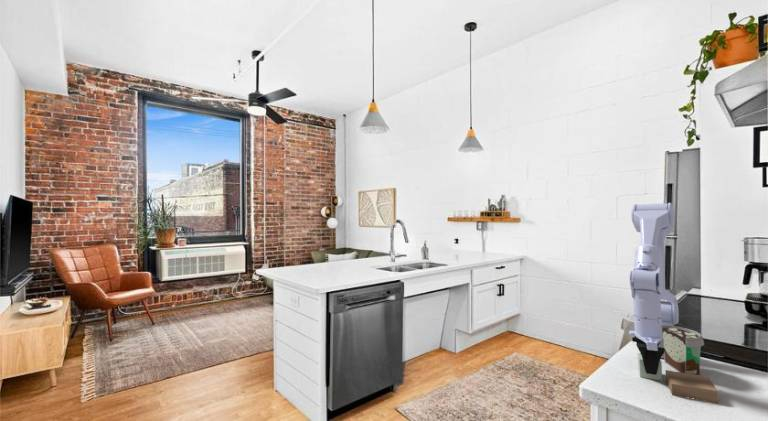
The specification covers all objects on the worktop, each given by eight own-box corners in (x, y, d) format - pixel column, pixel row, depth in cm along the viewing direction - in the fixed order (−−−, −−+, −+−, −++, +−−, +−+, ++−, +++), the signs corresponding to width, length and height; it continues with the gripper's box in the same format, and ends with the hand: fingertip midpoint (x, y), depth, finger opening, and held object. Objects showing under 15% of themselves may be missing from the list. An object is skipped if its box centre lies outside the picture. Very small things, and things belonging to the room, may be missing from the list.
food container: (718, 381, 89) (716, 340, 89) (689, 379, 90) (687, 339, 90) (687, 361, 101) (685, 325, 101) (661, 360, 102) (660, 324, 102)
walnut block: (666, 382, 90) (665, 370, 90) (708, 389, 86) (707, 376, 86) (672, 396, 83) (671, 383, 83) (718, 405, 79) (718, 391, 79)
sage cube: (638, 370, 96) (637, 353, 96) (659, 373, 94) (658, 356, 94) (640, 377, 92) (639, 359, 92) (662, 380, 90) (661, 362, 90)
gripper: (626, 308, 102) (628, 357, 101) (631, 321, 89) (633, 377, 89) (657, 310, 98) (660, 361, 98) (667, 325, 85) (669, 383, 85)
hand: (649, 369), depth 93 cm, fingers closed on sage cube, 4 cm apart
